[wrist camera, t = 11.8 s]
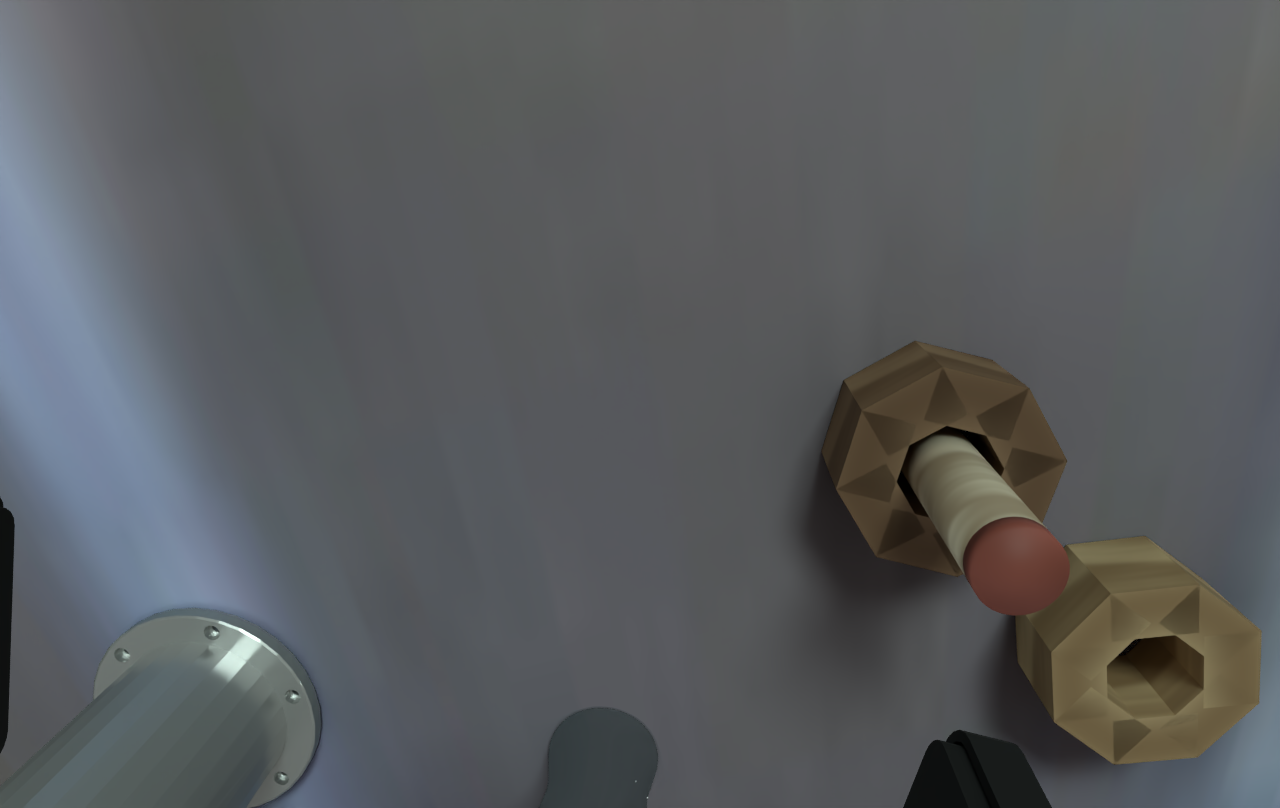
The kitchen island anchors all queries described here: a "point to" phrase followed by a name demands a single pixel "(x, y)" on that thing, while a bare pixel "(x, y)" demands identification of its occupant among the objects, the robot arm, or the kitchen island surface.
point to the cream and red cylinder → (986, 525)
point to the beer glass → (600, 762)
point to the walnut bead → (914, 408)
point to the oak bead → (1140, 654)
